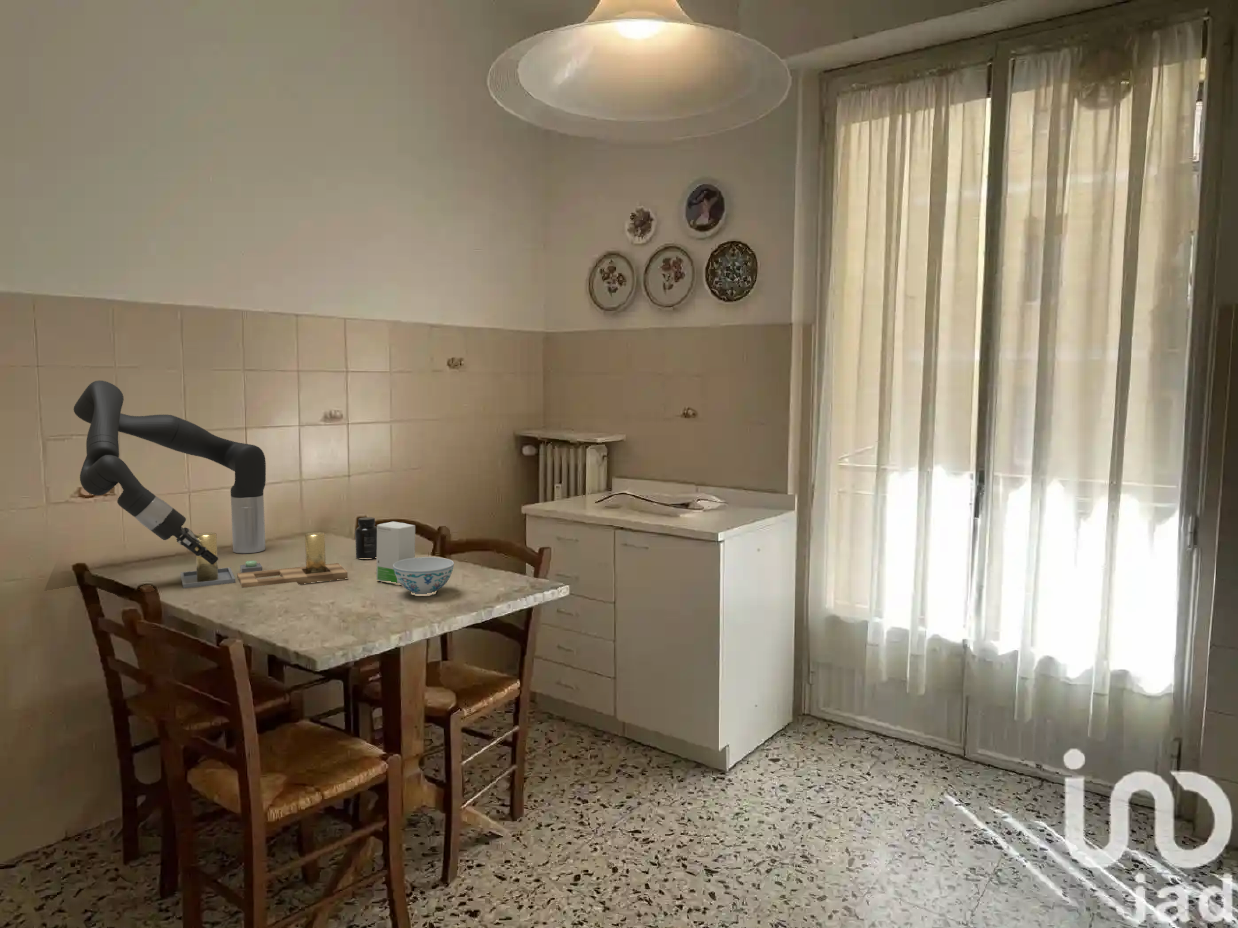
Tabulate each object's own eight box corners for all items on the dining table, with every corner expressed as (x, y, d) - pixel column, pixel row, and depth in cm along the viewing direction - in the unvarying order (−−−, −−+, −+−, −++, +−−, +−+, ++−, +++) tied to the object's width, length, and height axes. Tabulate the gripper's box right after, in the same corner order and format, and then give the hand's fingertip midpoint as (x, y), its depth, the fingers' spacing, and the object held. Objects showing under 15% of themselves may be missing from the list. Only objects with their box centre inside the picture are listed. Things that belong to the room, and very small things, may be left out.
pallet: (237, 580, 218) (237, 573, 218) (338, 569, 231) (338, 562, 231) (242, 591, 208) (242, 583, 208) (347, 579, 221) (347, 572, 221)
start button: (245, 565, 225) (244, 561, 225) (256, 564, 226) (255, 560, 226) (246, 567, 223) (246, 563, 222) (257, 566, 224) (257, 562, 224)
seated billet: (304, 576, 224) (303, 533, 222) (323, 574, 226) (322, 531, 225) (308, 580, 219) (306, 536, 218) (327, 578, 222) (326, 534, 221)
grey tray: (180, 579, 219) (180, 572, 218) (230, 574, 225) (230, 567, 225) (183, 591, 207) (183, 584, 206) (235, 586, 213) (235, 578, 213)
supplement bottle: (383, 555, 250) (382, 516, 249) (374, 560, 244) (373, 520, 242) (361, 554, 251) (360, 516, 250) (351, 559, 244) (350, 520, 243)
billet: (196, 578, 217) (194, 533, 215) (217, 576, 219) (215, 531, 218) (197, 582, 212) (195, 536, 211) (219, 580, 215) (217, 535, 213)
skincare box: (375, 582, 219) (374, 524, 217) (393, 576, 225) (392, 520, 223) (399, 586, 215) (398, 527, 213) (416, 580, 221) (415, 523, 219)
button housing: (240, 573, 226) (240, 565, 225) (260, 571, 228) (259, 563, 228) (242, 577, 221) (242, 568, 221) (262, 575, 224) (262, 566, 224)
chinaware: (383, 591, 209) (383, 562, 209) (436, 582, 219) (436, 554, 218) (410, 604, 198) (409, 573, 197) (465, 594, 208) (464, 564, 207)
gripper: (148, 524, 214) (202, 564, 221) (149, 534, 201) (206, 576, 209) (170, 503, 216) (223, 543, 223) (172, 511, 204) (228, 553, 211)
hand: (214, 559), depth 216 cm, fingers closed on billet, 5 cm apart
